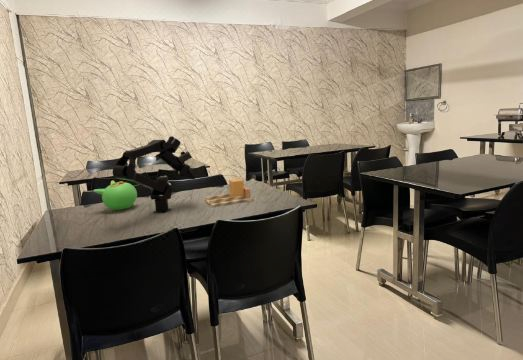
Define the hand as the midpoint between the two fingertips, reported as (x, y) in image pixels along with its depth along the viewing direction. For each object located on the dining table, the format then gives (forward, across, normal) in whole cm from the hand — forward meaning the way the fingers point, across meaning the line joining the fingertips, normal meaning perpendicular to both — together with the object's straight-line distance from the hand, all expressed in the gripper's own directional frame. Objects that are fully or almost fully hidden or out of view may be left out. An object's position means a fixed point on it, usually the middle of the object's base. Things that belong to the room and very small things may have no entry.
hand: (194, 178), depth 188 cm
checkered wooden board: (+21, -4, -2) cm, 21 cm away
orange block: (+23, -4, -6) cm, 24 cm away
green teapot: (-16, +14, +36) cm, 42 cm away
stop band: (+27, -4, -9) cm, 28 cm away
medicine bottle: (+1, +28, +19) cm, 33 cm away
